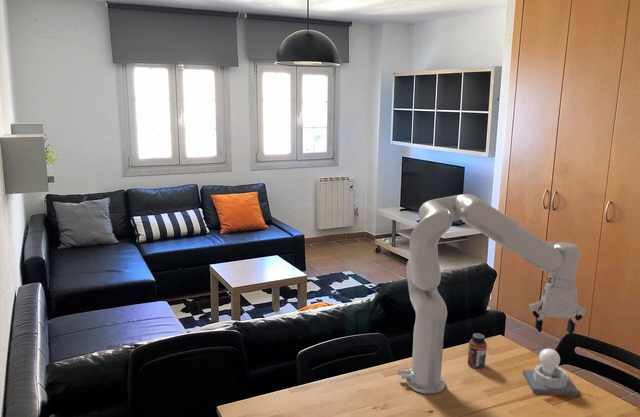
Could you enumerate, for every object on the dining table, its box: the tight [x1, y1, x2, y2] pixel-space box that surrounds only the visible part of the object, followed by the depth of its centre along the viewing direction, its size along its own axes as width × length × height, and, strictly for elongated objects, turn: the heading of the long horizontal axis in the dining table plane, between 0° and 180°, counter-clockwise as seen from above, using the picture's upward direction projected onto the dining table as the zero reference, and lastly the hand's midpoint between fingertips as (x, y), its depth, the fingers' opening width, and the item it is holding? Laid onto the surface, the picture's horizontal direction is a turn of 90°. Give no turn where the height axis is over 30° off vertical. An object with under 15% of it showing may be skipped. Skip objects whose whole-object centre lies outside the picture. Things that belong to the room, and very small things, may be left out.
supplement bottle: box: [467, 332, 488, 369], centre depth 184 cm, size 6×6×11 cm
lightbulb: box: [538, 348, 561, 378], centre depth 172 cm, size 6×6×11 cm
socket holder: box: [522, 364, 580, 397], centre depth 173 cm, size 14×12×4 cm
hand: (554, 331), depth 169 cm, fingers open, 9 cm apart
